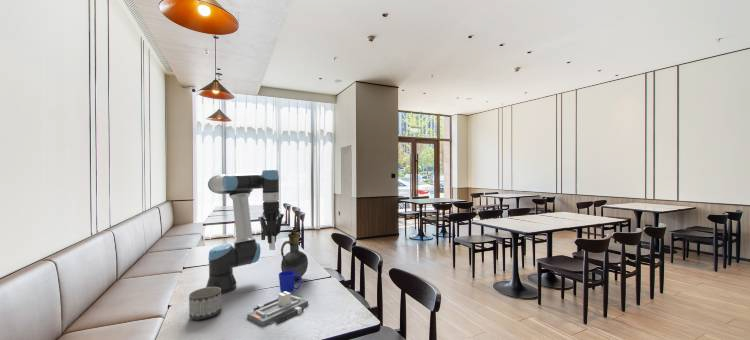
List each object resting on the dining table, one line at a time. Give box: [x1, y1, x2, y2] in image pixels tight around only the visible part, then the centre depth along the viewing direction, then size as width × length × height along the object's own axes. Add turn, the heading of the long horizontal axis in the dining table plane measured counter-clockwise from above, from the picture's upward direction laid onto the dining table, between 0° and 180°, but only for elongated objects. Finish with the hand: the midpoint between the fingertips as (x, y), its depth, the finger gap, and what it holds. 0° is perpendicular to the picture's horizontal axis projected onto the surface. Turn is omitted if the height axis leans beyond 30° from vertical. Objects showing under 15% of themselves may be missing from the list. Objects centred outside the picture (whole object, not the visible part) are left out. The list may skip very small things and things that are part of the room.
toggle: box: [277, 291, 292, 306], centre depth 140 cm, size 4×4×5 cm
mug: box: [278, 271, 302, 293], centre depth 160 cm, size 8×12×10 cm
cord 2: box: [275, 306, 304, 324], centre depth 132 cm, size 3×14×2 cm, turn 143°
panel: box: [246, 294, 309, 327], centre depth 138 cm, size 12×24×3 cm, turn 143°
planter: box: [188, 286, 223, 321], centre depth 136 cm, size 13×13×10 cm
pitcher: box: [280, 229, 309, 283], centre depth 176 cm, size 11×19×30 cm, turn 157°
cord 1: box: [253, 298, 278, 311], centre depth 143 cm, size 3×14×2 cm, turn 143°
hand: (272, 249), depth 147 cm, fingers closed
